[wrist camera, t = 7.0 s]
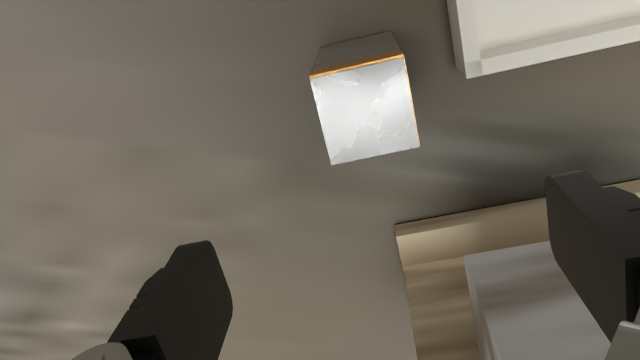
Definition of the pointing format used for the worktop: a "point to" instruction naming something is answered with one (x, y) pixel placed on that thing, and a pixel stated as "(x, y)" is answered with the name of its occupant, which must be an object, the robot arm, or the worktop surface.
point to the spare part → (364, 98)
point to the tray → (535, 31)
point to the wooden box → (494, 288)
